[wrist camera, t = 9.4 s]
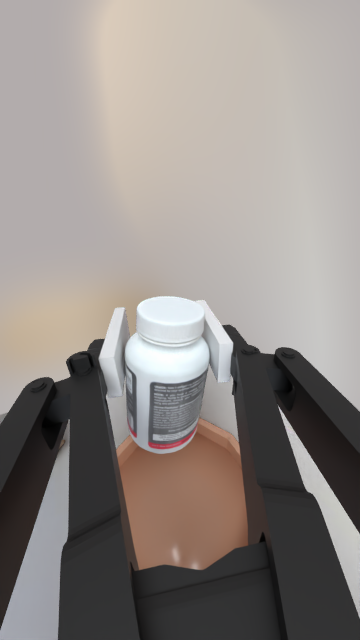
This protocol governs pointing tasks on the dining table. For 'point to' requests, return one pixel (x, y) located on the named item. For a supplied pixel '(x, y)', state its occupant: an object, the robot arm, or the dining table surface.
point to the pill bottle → (166, 373)
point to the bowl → (185, 500)
